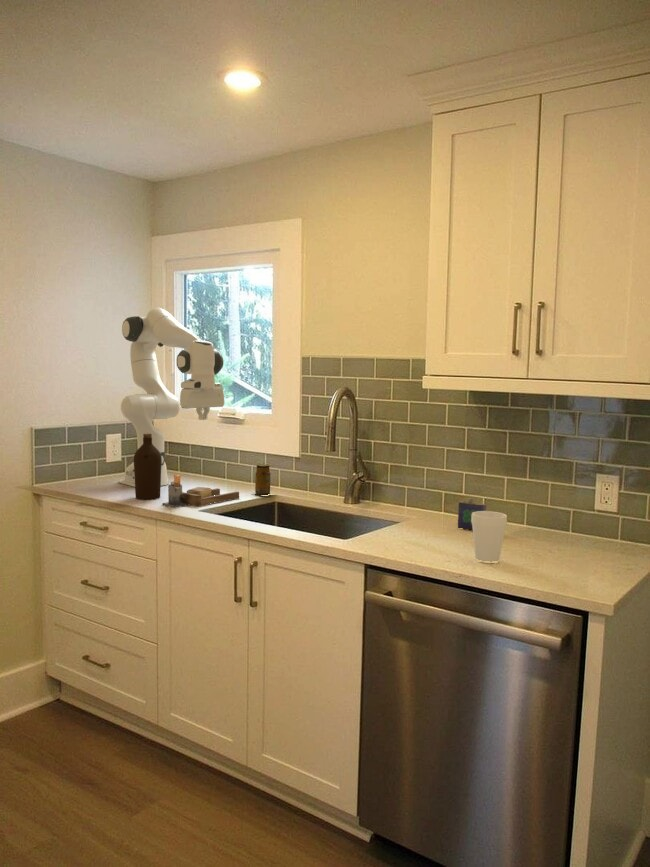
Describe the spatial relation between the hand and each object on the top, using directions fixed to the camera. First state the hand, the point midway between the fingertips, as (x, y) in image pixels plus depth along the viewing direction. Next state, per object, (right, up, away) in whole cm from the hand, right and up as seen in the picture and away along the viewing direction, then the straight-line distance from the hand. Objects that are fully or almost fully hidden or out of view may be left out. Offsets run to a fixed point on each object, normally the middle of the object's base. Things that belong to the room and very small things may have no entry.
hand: (202, 419), depth 278 cm
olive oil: (-22, -31, +6) cm, 38 cm away
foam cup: (+91, -41, -77) cm, 126 cm away
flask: (+94, -37, -40) cm, 109 cm away
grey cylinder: (-9, -32, -8) cm, 34 cm away
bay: (+2, -31, +3) cm, 31 cm away
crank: (-8, -25, -13) cm, 29 cm away
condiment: (+22, -30, +16) cm, 41 cm away
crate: (-1, -32, -1) cm, 32 cm away
